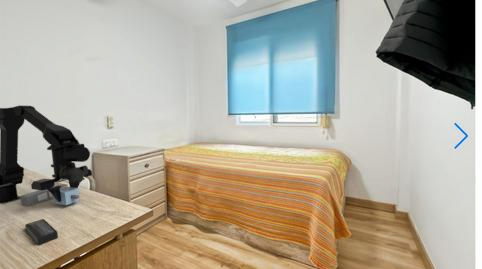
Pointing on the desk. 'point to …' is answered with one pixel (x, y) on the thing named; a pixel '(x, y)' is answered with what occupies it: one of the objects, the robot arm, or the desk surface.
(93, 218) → the desk surface
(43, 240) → the multiport hub
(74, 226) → the desk surface
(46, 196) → the power strip
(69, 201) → the slate plug
